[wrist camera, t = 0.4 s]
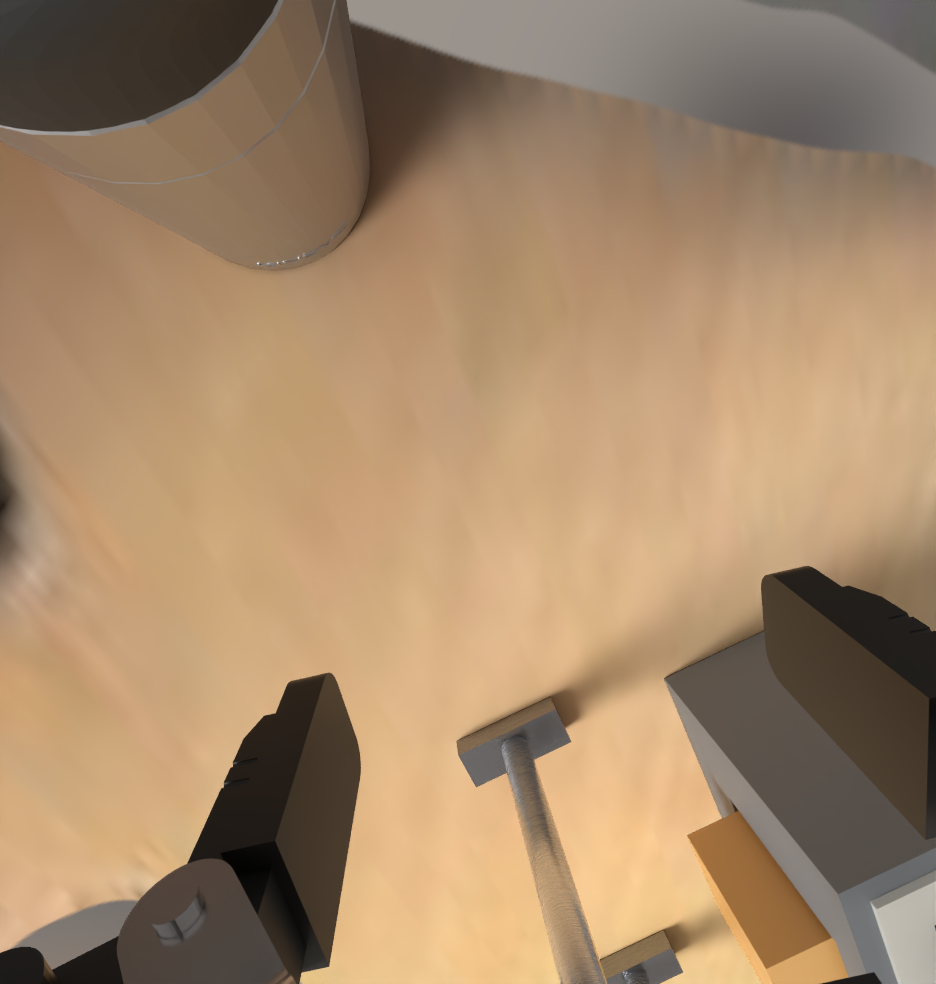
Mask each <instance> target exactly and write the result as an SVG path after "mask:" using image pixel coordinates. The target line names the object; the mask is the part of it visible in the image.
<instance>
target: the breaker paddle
mask: <svg viewBox="0 0 936 984" xmlns="http://www.w3.org/2000/svg"><path fill="white" fill-rule="evenodd" d="M687 837H688V839H689V841H690V843H691V846H692V848H693V850H694V853H695V855H696V857H697V859H698V862H699V864H700V866H701V868H702V871H703V873H704V875H705V877H706V880H707V882H708V884H709V887H710V889H711V891H712V893H713V896H714V898H715V900H716V902H717V905H718V907H719V909H720V911H721V913H722V915H723V917H724V918H725V920H726V922H727V924H728V925H729V927H730V929H731V931H732V932H733V934H734V936H735V938H736V939H737V941H738V943H739V945H740V946H741V948H742V950H743V952H744V953H745V955H746V957H747V959H748V960H749V962H750V964H751V966H752V967H753V969H754V971H755V973H756V974H757V976H758V978H759V980H760V981H761V983H762V984H821V983H825V982H830V981H835V980H839V979H844V978H849V977H848V974H847V971H846V969H845V966H844V963H843V961H842V958H841V955H840V953H839V950H838V947H837V944H836V942H835V941H834V939H833V938H832V937H831V935H830V934H829V933H828V931H827V930H826V929H825V927H824V926H823V924H822V923H821V922H820V920H819V919H818V918H817V916H816V915H815V914H814V912H813V911H812V910H811V908H810V907H809V905H808V904H807V903H806V901H805V900H804V899H803V897H802V896H801V895H800V893H799V892H798V890H797V889H796V888H795V886H794V885H793V884H792V882H791V881H790V880H789V878H788V877H787V876H786V874H785V873H784V871H783V870H782V869H781V867H780V866H779V865H778V863H777V862H776V861H775V859H774V858H773V857H772V855H771V854H770V852H769V851H768V850H767V848H766V847H765V846H764V844H763V843H762V842H761V840H760V839H759V838H758V836H757V835H756V833H755V832H754V831H753V829H752V828H751V827H750V825H749V824H748V823H747V821H746V820H745V819H744V817H743V816H742V814H741V813H740V812H739V811H737V812H735V813H733V814H731V815H729V816H727V817H725V818H723V819H720V820H718V821H716V822H714V823H712V824H710V825H708V826H706V827H704V828H702V829H699V830H697V831H695V832H693V833H691V834H689V835H687Z"/></svg>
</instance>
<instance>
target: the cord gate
mask: <svg viewBox="0 0 936 984" xmlns="http://www.w3.org/2000/svg"><path fill="white" fill-rule="evenodd" d="M456 742H457V749H458V755H459V757H460V759H461V761H462V763H463V764H464V766H465V768H466V770H467V772H468V773H469V775H470V777H471V779H472V781H473V782H474V784H475V786H476V787H478V786H480V785H482V784H484V783H486V782H488V781H490V780H492V779H494V778H497V777H499V776H501V775H503V774H505V773H507V775H508V779H509V783H510V787H511V791H512V795H513V799H514V803H515V807H516V811H517V815H518V819H519V823H520V827H521V830H522V834H523V838H524V842H525V846H526V850H527V854H528V858H529V862H530V866H531V870H532V874H533V878H534V882H535V886H536V890H537V894H538V898H539V902H540V906H541V910H542V914H543V918H544V922H545V926H546V930H547V934H548V937H549V941H550V945H551V949H552V953H553V957H554V961H555V965H556V969H557V973H558V977H559V981H560V984H660V983H662V982H664V981H666V980H668V979H670V978H672V977H674V976H676V975H678V974H681V973H683V971H682V969H681V966H680V964H679V962H678V960H677V958H676V955H675V953H674V951H673V949H672V947H671V945H670V943H669V941H668V939H667V937H666V935H665V933H664V931H663V930H662V931H660V932H658V933H656V934H654V935H652V936H650V937H648V938H646V939H644V940H641V941H639V942H637V943H635V944H633V945H631V946H629V947H627V948H625V949H623V950H620V951H618V952H616V953H614V954H612V955H610V956H608V957H606V958H604V959H602V960H599V957H598V954H597V951H596V948H595V945H594V942H593V939H592V935H591V932H590V929H589V926H588V923H587V920H586V917H585V914H584V911H583V908H582V905H581V902H580V899H579V896H578V893H577V890H576V887H575V883H574V880H573V877H572V874H571V871H570V868H569V865H568V862H567V859H566V856H565V853H564V850H563V847H562V844H561V841H560V838H559V835H558V831H557V828H556V825H555V822H554V819H553V816H552V813H551V810H550V807H549V804H548V801H547V798H546V795H545V792H544V789H543V786H542V782H541V779H540V776H539V773H538V770H537V767H536V764H535V761H534V759H536V758H539V757H541V756H543V755H545V754H547V753H549V752H551V751H553V750H555V749H557V748H559V747H562V746H564V745H566V744H568V743H570V742H571V740H570V738H569V735H568V733H567V731H566V728H565V726H564V724H563V722H562V720H561V718H560V716H559V714H558V712H557V710H556V708H555V706H554V704H553V702H552V700H551V697H549V698H547V699H544V700H542V701H540V702H538V703H536V704H534V705H532V706H530V707H528V708H526V709H523V710H521V711H519V712H517V713H515V714H513V715H511V716H509V717H507V718H505V719H503V720H500V721H498V722H496V723H494V724H492V725H490V726H488V727H486V728H484V729H482V730H479V731H477V732H475V733H473V734H471V735H469V736H467V737H465V738H463V739H461V740H458V741H456Z"/></svg>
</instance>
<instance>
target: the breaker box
mask: <svg viewBox="0 0 936 984" xmlns="http://www.w3.org/2000/svg"><path fill="white" fill-rule="evenodd" d="M664 679H665V682H666V684H667V687H668V689H669V691H670V694H671V696H672V699H673V701H674V703H675V706H676V708H677V711H678V713H679V716H680V718H681V720H682V723H683V725H684V728H685V730H686V732H687V735H688V737H689V740H690V742H691V744H692V747H693V749H694V752H695V754H696V757H697V759H698V761H699V764H700V766H701V769H702V771H703V773H704V776H705V778H706V781H707V783H708V785H709V788H710V790H711V793H712V795H713V798H714V800H715V802H716V805H717V807H718V810H719V812H720V814H721V817H722V819H723V818H725V817H727V816H729V815H731V814H733V813H735V812H737V811H739V812H740V813H741V814H742V816H743V817H744V819H745V820H746V821H747V823H748V824H749V825H750V827H751V828H752V829H753V831H754V832H755V833H756V835H757V836H758V838H759V839H760V840H761V842H762V843H763V844H764V846H765V847H766V848H767V850H768V851H769V852H770V854H771V855H772V857H773V858H774V859H775V861H776V862H777V863H778V865H779V866H780V867H781V869H782V870H783V871H784V873H785V874H786V876H787V877H788V878H789V880H790V881H791V882H792V884H793V885H794V886H795V888H796V889H797V890H798V892H799V893H800V895H801V896H802V897H803V899H804V900H805V901H806V903H807V904H808V905H809V907H810V908H811V910H812V911H813V912H814V914H815V915H816V916H817V918H818V919H819V920H820V922H821V923H822V924H823V926H824V927H825V929H826V930H827V931H828V933H829V934H830V935H831V937H832V938H833V939H834V941H835V942H836V944H837V947H838V950H839V953H840V955H841V958H842V961H843V963H844V966H845V969H846V971H847V974H848V977H853V976H858V975H863V974H867V973H872V972H875V974H876V975H877V977H878V978H879V980H880V981H881V983H882V984H936V838H932V839H928V840H925V839H924V838H923V837H922V836H921V835H920V833H919V832H918V831H917V830H916V829H915V828H914V827H913V826H912V825H911V824H910V823H909V822H908V821H907V819H906V818H905V817H904V816H903V815H902V814H901V813H900V812H899V811H898V810H897V809H896V808H895V806H894V805H893V804H892V803H891V802H890V801H889V800H888V799H887V798H886V797H885V796H884V795H883V794H882V792H881V791H880V790H879V789H878V788H877V787H876V786H875V785H874V784H873V783H872V782H871V781H870V780H869V778H868V777H867V776H866V775H865V774H864V773H863V772H862V771H861V770H860V769H859V768H858V767H857V765H856V764H855V763H854V762H853V761H852V760H851V759H850V758H849V757H848V756H847V755H846V754H845V753H844V751H843V750H842V749H841V748H840V747H839V746H838V745H837V744H836V743H835V742H834V741H833V740H832V738H831V737H830V736H829V735H828V734H827V733H826V732H825V731H824V730H823V729H822V728H821V727H820V726H819V724H818V723H817V722H816V721H815V720H814V719H813V718H812V717H811V716H810V715H809V714H808V713H807V711H806V710H805V709H804V708H803V707H802V706H801V705H800V704H799V703H798V702H797V701H796V700H795V699H794V697H793V696H792V695H791V694H790V693H789V692H788V691H787V690H786V689H785V688H784V687H783V686H782V684H781V683H780V682H779V681H778V679H777V678H776V676H775V674H774V672H773V670H772V668H771V666H770V663H769V660H768V657H767V653H766V646H765V632H764V631H763V632H761V633H758V634H756V635H754V636H752V637H750V638H748V639H746V640H744V641H742V642H740V643H737V644H735V645H733V646H731V647H729V648H727V649H725V650H723V651H721V652H719V653H717V654H714V655H712V656H710V657H708V658H706V659H704V660H702V661H700V662H698V663H696V664H693V665H691V666H689V667H687V668H685V669H683V670H681V671H679V672H677V673H675V674H672V675H670V676H668V677H666V678H664Z"/></svg>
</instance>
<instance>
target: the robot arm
mask: <svg viewBox="0 0 936 984" xmlns="http://www.w3.org/2000/svg"><path fill="white" fill-rule="evenodd" d="M0 141H1V142H3V143H5V144H7V145H8V146H10V147H12V148H14V149H16V150H18V151H21V152H23V153H25V154H27V155H29V156H31V157H33V158H34V159H36V160H38V161H40V162H42V163H44V164H46V165H48V166H50V167H52V168H53V169H55V170H57V171H59V172H61V173H63V174H65V175H67V176H69V177H71V178H72V179H74V180H76V181H78V182H80V183H82V184H84V185H86V186H88V187H90V188H91V189H93V190H95V191H97V192H99V193H101V194H103V195H105V196H107V197H109V198H110V199H112V200H114V201H116V202H118V203H120V204H122V205H124V206H126V207H127V208H129V209H131V210H133V211H135V212H137V213H139V214H141V215H143V216H145V217H146V218H148V219H150V220H152V221H154V222H156V223H158V224H160V225H162V226H164V227H165V228H167V229H169V230H171V231H173V232H175V233H177V234H179V235H181V236H183V237H184V238H186V239H188V240H190V241H192V242H194V243H196V244H198V245H200V246H202V247H203V248H205V249H207V250H209V251H211V252H213V253H215V254H217V255H219V256H221V257H222V258H224V259H226V260H228V261H231V262H234V263H237V264H240V265H243V266H246V267H249V268H253V269H262V270H271V271H276V270H285V269H295V268H297V267H300V266H303V265H306V264H309V263H312V262H315V261H316V260H318V259H320V258H321V257H323V256H324V255H326V254H328V253H329V252H331V251H332V250H334V249H335V247H336V246H337V245H338V244H339V243H340V242H341V241H342V240H343V239H344V238H345V237H346V236H347V235H348V234H349V232H350V231H351V229H352V228H353V226H354V224H355V223H356V221H357V220H358V218H359V216H360V214H361V211H362V208H363V205H364V202H365V200H366V197H367V192H368V185H369V178H370V157H369V145H368V138H367V132H366V125H365V117H364V110H363V103H362V97H361V90H360V84H359V78H358V71H357V65H356V59H355V52H354V46H353V40H352V33H351V27H350V21H349V14H348V8H347V1H346V0H0ZM761 593H762V606H763V619H764V632H765V646H766V653H767V657H768V660H769V663H770V666H771V668H772V670H773V672H774V674H775V676H776V678H777V679H778V681H779V682H780V683H781V684H782V686H783V687H784V688H785V689H786V690H787V691H788V692H789V693H790V694H791V695H792V696H793V697H794V699H795V700H796V701H797V702H798V703H799V704H800V705H801V706H802V707H803V708H804V709H805V710H806V711H807V713H808V714H809V715H810V716H811V717H812V718H813V719H814V720H815V721H816V722H817V723H818V724H819V726H820V727H821V728H822V729H823V730H824V731H825V732H826V733H827V734H828V735H829V736H830V737H831V738H832V740H833V741H834V742H835V743H836V744H837V745H838V746H839V747H840V748H841V749H842V750H843V751H844V753H845V754H846V755H847V756H848V757H849V758H850V759H851V760H852V761H853V762H854V763H855V764H856V765H857V767H858V768H859V769H860V770H861V771H862V772H863V773H864V774H865V775H866V776H867V777H868V778H869V780H870V781H871V782H872V783H873V784H874V785H875V786H876V787H877V788H878V789H879V790H880V791H881V792H882V794H883V795H884V796H885V797H886V798H887V799H888V800H889V801H890V802H891V803H892V804H893V805H894V806H895V808H896V809H897V810H898V811H899V812H900V813H901V814H902V815H903V816H904V817H905V818H906V819H907V821H908V822H909V823H910V824H911V825H912V826H913V827H914V828H915V829H916V830H917V831H918V832H919V833H920V835H921V836H922V837H923V838H924V839H925V840H928V839H932V838H936V631H933V632H931V630H930V628H929V627H928V626H927V625H925V624H923V623H922V622H920V621H919V620H917V619H916V618H914V617H909V616H908V613H906V612H905V611H903V610H902V609H900V608H898V607H897V606H895V605H894V604H892V603H891V602H889V601H887V600H886V599H884V598H883V597H881V596H878V595H875V594H872V593H869V592H866V591H863V590H860V589H857V588H854V587H851V586H845V587H841V586H840V585H838V584H837V583H835V582H834V581H832V580H831V579H829V578H828V577H826V576H825V575H823V574H822V573H820V572H819V571H817V570H816V569H814V568H813V567H810V566H804V567H800V568H795V569H791V570H786V571H782V572H777V573H773V574H769V575H765V576H764V577H763V579H762V583H761ZM360 773H361V762H360V752H359V746H358V742H357V739H356V736H355V733H354V730H353V727H352V724H351V721H350V718H349V715H348V712H347V710H346V707H345V704H344V701H343V698H342V695H341V692H340V689H339V686H338V684H337V681H336V679H335V677H334V676H333V674H331V673H325V674H321V675H316V676H312V677H308V678H303V679H299V680H294V681H291V682H289V683H288V685H287V687H286V689H285V691H284V694H283V696H282V699H281V701H280V704H279V706H278V709H277V711H276V713H275V714H271V715H266V716H264V717H263V718H262V719H261V720H260V721H259V722H258V723H257V724H256V726H255V727H254V728H253V729H252V730H251V731H250V732H249V733H248V735H247V736H246V737H245V738H244V739H243V741H242V744H241V746H240V748H239V750H238V753H237V755H236V757H235V759H234V761H233V767H232V768H230V770H229V772H228V775H227V777H226V779H225V781H224V788H221V790H220V792H219V795H218V797H217V799H216V801H215V803H214V806H213V808H212V810H211V812H210V815H209V817H208V819H207V821H206V823H205V826H204V828H203V830H202V832H201V834H200V837H199V839H198V841H197V843H196V846H195V848H194V850H193V852H192V854H191V857H190V859H189V861H188V863H187V864H186V865H184V866H182V867H180V868H178V869H176V870H174V871H173V872H171V873H170V874H168V875H167V876H165V877H164V878H163V879H161V880H160V881H159V882H157V883H156V884H155V885H154V886H153V887H152V888H151V889H150V890H148V891H147V892H146V894H145V895H144V896H143V897H142V898H141V899H140V900H139V901H138V903H137V904H136V905H135V907H134V908H133V909H132V910H131V912H130V914H129V915H128V917H127V918H126V920H125V922H124V924H123V926H122V929H121V931H120V934H119V936H118V937H116V938H114V939H112V940H110V941H108V942H106V943H104V944H102V945H101V946H98V947H96V948H94V949H92V950H90V951H88V952H86V953H85V954H82V955H81V956H78V957H77V958H75V959H73V960H71V961H69V962H67V963H65V964H63V965H61V966H59V967H57V968H55V969H53V970H52V969H51V968H50V966H49V965H48V963H47V962H46V960H45V958H44V957H43V955H42V954H41V953H40V952H39V951H38V950H37V949H35V948H31V947H19V948H13V949H10V950H7V951H4V952H2V953H0V984H299V982H300V977H301V973H302V972H306V971H311V970H316V969H320V968H325V967H329V964H330V958H331V952H332V945H333V939H334V933H335V927H336V921H337V915H338V909H339V903H340V897H341V891H342V884H343V878H344V872H345V866H346V860H347V854H348V848H349V842H350V836H351V830H352V823H353V817H354V811H355V805H356V799H357V793H358V787H359V781H360ZM821 984H882V983H881V981H880V980H879V978H878V977H877V975H876V974H875V972H872V973H867V974H863V975H858V976H853V977H849V978H844V979H839V980H835V981H830V982H825V983H821Z"/></svg>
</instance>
